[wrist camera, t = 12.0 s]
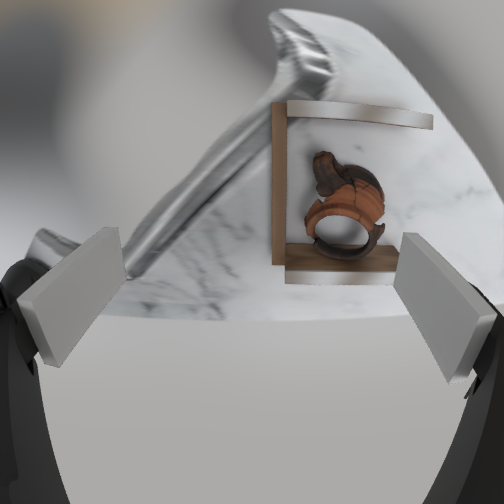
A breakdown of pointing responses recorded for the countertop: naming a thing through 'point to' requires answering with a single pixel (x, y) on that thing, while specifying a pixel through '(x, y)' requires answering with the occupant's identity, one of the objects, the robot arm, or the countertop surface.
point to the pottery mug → (345, 203)
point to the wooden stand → (289, 254)
